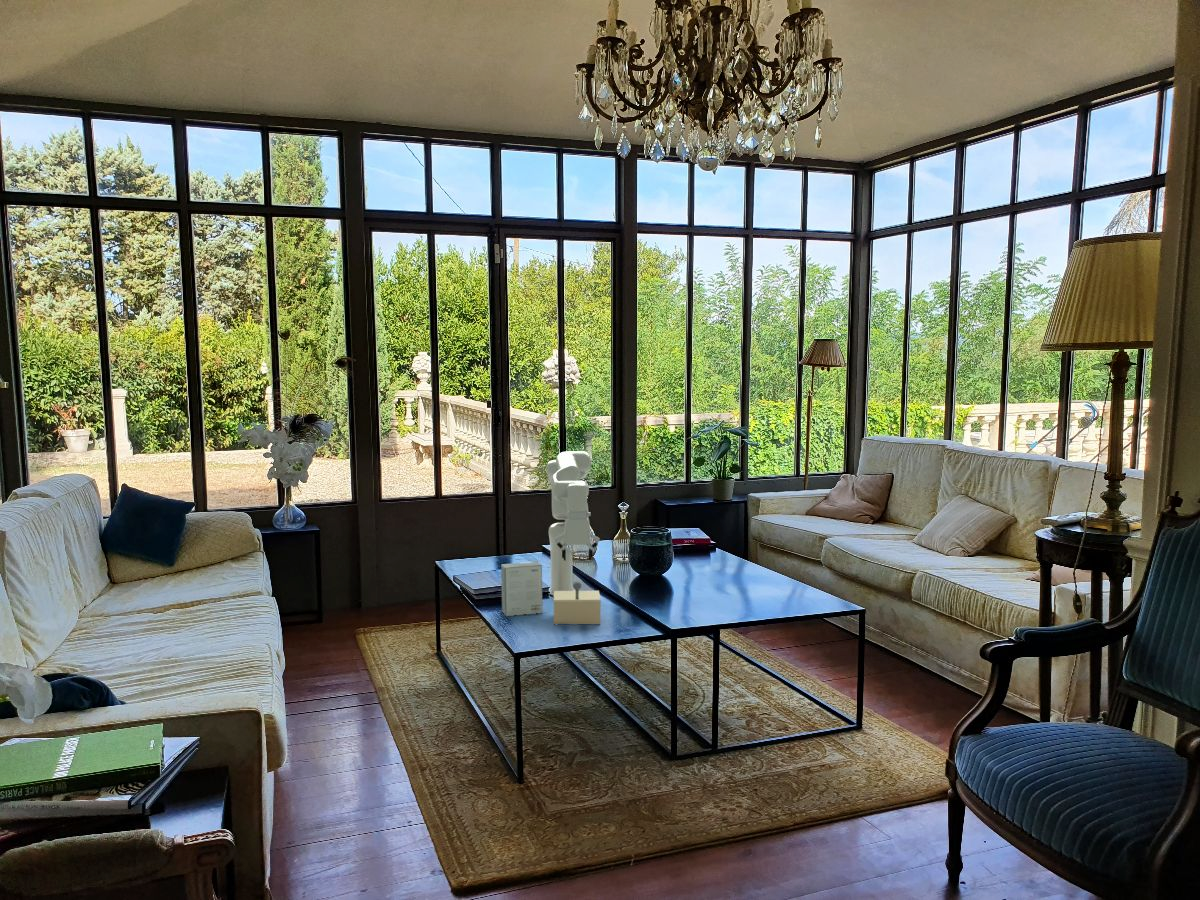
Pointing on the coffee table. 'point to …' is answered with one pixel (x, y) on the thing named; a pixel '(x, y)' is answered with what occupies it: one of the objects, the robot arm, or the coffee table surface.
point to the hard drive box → (521, 588)
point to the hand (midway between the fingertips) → (577, 559)
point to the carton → (577, 612)
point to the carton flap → (577, 595)
